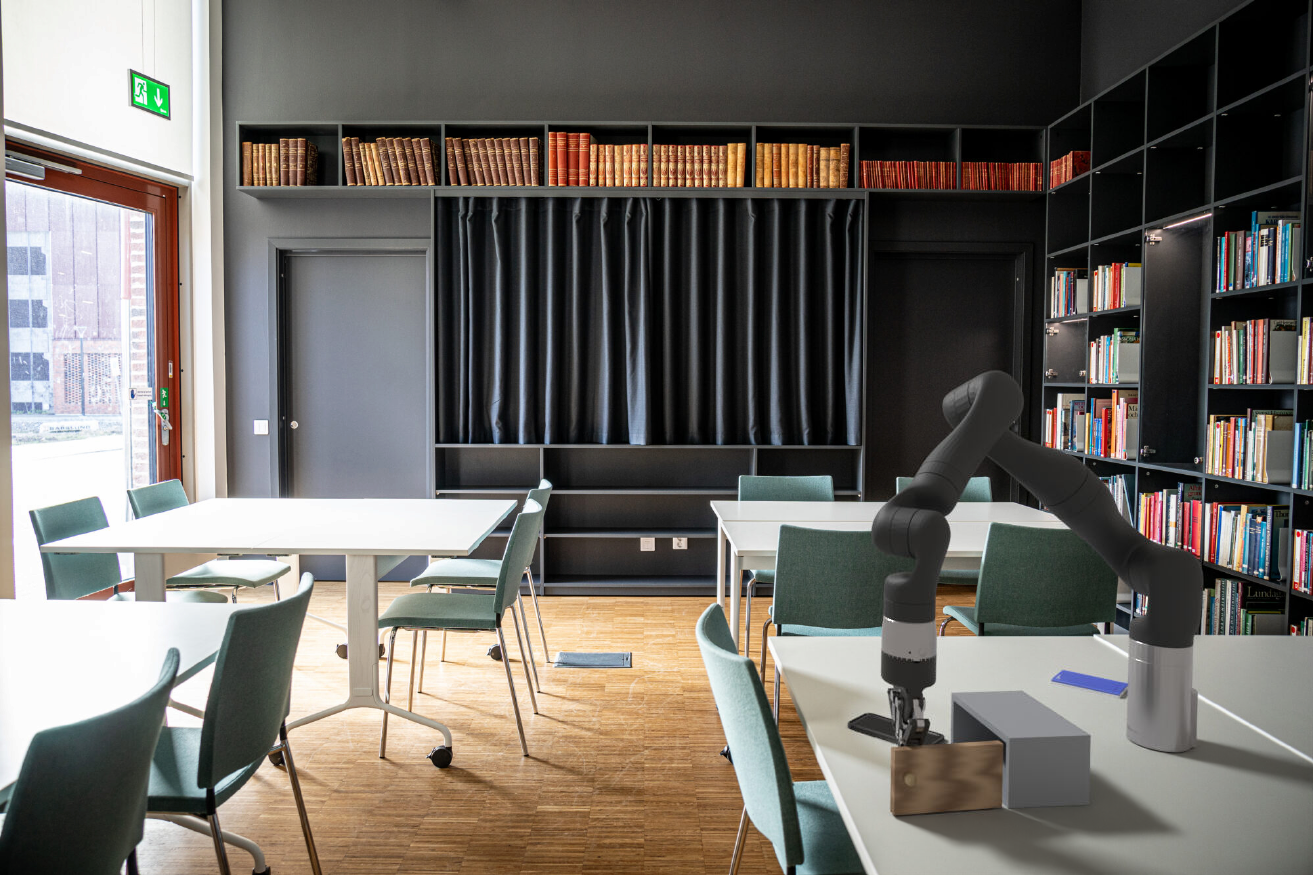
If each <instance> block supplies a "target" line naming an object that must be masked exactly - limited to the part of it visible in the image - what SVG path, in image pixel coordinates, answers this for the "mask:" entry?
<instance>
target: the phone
mask: <svg viewBox="0 0 1313 875" xmlns="http://www.w3.org/2000/svg"><path fill="white" fill-rule="evenodd" d="M847 729H848V730H851V731H854V732H857V733H860V734H863V735H866V736H868V737H869V736H870V737H872V738H875V739H877V740H878V739H879V740H882V741H884V742H888V743H890V744H891V743H892V744H895V745H897V744H898V740H899V739H897V737H896V729H893V726H892V718H890V717H887V716H883V715H880V714H877V713H874V712H864V713H863V714H861V715H859V716H857V717H855V718H853V719H851V720H849V721H847ZM942 742H943V743H944V742H945V735H944V734H942V733H939V732H937V731H933V730H930V729H929V730H928V733H927V735H926V737H925V740H924V742H923V745H935V744H943V743H942ZM916 746H919V745H916Z"/></svg>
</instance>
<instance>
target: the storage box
mask: <svg viewBox="0 0 1313 875" xmlns="http://www.w3.org/2000/svg"><path fill="white" fill-rule="evenodd" d="M950 697H951V698H950V699H951V700H950V704H951V706H950V744H951V743H967V742H982V741H1000V742H1001V743H1003V782H1002V805H1004V806H1005V807H1006V808H1007V809H1018V808H1021V809H1023V808H1038V807H1039V808H1042V807H1063V806H1086V805H1090V788H1091V787H1090V785H1091V784H1090V781H1091V779H1090V776H1091V742H1092V741H1091V738H1092V734H1090V733H1088V732H1087V731H1085V730H1084V729H1082V728H1080V727H1078V726H1077V725H1076V724H1075V723H1073V722H1071V721H1070V720H1068V719H1067V718H1065V717H1063V716H1062V715H1061V714H1059V713H1058V712H1056V711H1054V710H1053V709H1052V708H1050V707H1048V706H1047V705H1046V704H1044V703H1042V702H1041V701H1040V700H1037V699H1035V698H1034V697H1033V696H1031V695H1030V694H1028V693H1027V692H1025V691H1023V690H997V691H970V692H969V691H967V692H965V691H963V692H960V691H959V692H958V691H957V692H951V696H950Z"/></svg>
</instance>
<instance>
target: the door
mask: <svg viewBox="0 0 1313 875" xmlns="http://www.w3.org/2000/svg"><path fill="white" fill-rule="evenodd" d="M1002 782H1003V743H1001V742H1000V741H982V742H967V743H951V742H950V743H941V744H935V745H919V746H903V747H898V746H892V747H890V792H889V793H890V797H889V798H890V803H889V804H890V805H889V806H890V807H889V810H890V813H891V814H892V815H893V816H903V815H916V814H928V813H929V814H930V813H942V812H956V811H969V810H971V811H972V810H981V809H996V808H1003V803H1002Z"/></svg>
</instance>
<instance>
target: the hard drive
mask: <svg viewBox="0 0 1313 875" xmlns="http://www.w3.org/2000/svg"><path fill="white" fill-rule="evenodd" d="M1050 684H1051V685H1055V686H1056V685H1057V686H1061V687H1064V688H1070V689H1074V690H1078V691H1079V690H1080V691H1085V692H1088V693H1094V694H1097V695H1103V696H1106V697H1112V698H1116V699H1121V697H1122V696H1123V695H1124V694H1125V693H1126V692H1128V682H1123V681H1119V680H1112V679H1110V678H1109V679H1108V678H1104V677H1099V676H1094V675H1089V674H1085V673H1080V672H1075V671H1071V670H1066V669H1062V670H1061V671H1059V672H1058V673H1057V674H1055V676H1054V675H1053V677H1052V678H1051V679H1050Z"/></svg>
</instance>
